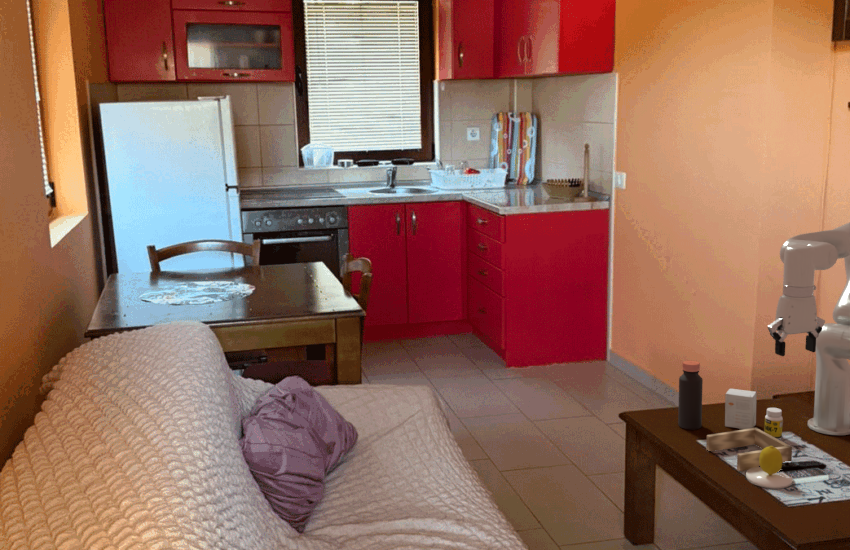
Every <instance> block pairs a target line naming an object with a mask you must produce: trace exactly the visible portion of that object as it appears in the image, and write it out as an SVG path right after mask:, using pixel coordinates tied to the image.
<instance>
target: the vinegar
mask: <svg viewBox="0 0 850 550" xmlns="http://www.w3.org/2000/svg"><path fill="white" fill-rule="evenodd" d="M700 363H701V362H699V361H696V360H684V361H682V365H681V366H682V367H681V368H682V372H683V373H682V374H681V375H680V376H678V377H679V378H678V410H677V411H678V413H677V415H678V417H677V418H678V419H677V420H678V421H677V423H678V424H677V425H678V426H679V427H680V428H681V429H684V430H698V429H700V428H702V421H703V420H702V419H703V418H702V416H703V415H702V414H703V383H704V382H703V380H704V379H703V378H702V377H701V376H700V374H699V373H700V367H701V366H700Z"/></svg>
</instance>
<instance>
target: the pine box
mask: <svg viewBox="0 0 850 550" xmlns="http://www.w3.org/2000/svg"><path fill="white" fill-rule="evenodd" d="M754 444H755V446H756V445H757V446H756V447H758V446H759V447H758V448H760V447H761V448H762V449H761V448H760V449H759V450H752V451H746V452H740V453H736V455H737V457H736V458H737V459H736V471H738V472H744V471H746V472H747V470H749V469H751V468H754V467H759V466H760V464H759V457H760V453H761V451H762V450H763V449H764V448H766V447H769V446H773V447H775V448H777V449H778V450H779V451H780V453H781V455H782V460H783V462H785V461H792V460H793V446H791V445H790V444H787V443H785V442H784V441H782V440H781V439H780V440H778V439H776V438H775V437H773V436H771V435H769V434H767V433H765V432H764V430H761V429H760V428H759V427H754V428H750V429H739V430H732V431H725V432H717V433H711V434H707V435H706V446H705V447H706V448H705V450H706V451H707V450H708V451H711V452H716V451H715V450H717V451H722V450H723V449H724V450H728V449H735V448H741V447H742V448H743V447H748V446H754ZM724 450H723V451H724ZM708 451H707V452H708ZM792 462H793V461H792Z"/></svg>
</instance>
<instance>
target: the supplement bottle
mask: <svg viewBox="0 0 850 550" xmlns="http://www.w3.org/2000/svg"><path fill="white" fill-rule="evenodd" d="M782 412H783V411H782V409H781V408H777V407H767V408H766V415H765V416H764V427H763V432H765V433H767V434H769V435H771V436H773V437H775V438H776V439H780V440H781V439H782V438H783V425H784V424H783V423H784V419H783V416H782V414H783V413H782Z"/></svg>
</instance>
